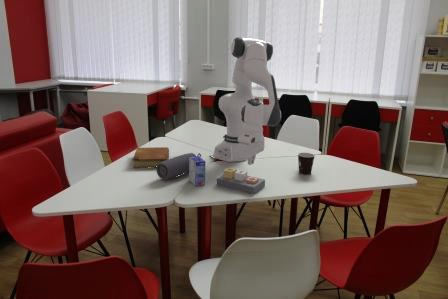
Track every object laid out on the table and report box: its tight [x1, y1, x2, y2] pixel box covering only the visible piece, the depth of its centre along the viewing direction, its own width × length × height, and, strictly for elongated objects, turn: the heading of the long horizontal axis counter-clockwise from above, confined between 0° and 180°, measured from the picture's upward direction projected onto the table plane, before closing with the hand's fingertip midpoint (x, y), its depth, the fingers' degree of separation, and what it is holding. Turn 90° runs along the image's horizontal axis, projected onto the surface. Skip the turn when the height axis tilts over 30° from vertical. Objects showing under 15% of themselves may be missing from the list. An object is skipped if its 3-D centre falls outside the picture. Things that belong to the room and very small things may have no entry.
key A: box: [223, 167, 237, 179], centre depth 186 cm, size 4×4×5 cm
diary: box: [132, 146, 170, 169], centre depth 217 cm, size 23×19×6 cm
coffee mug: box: [297, 152, 315, 176], centre depth 205 cm, size 12×9×10 cm
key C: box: [246, 176, 259, 184], centre depth 181 cm, size 4×4×5 cm
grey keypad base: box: [216, 174, 266, 195], centre depth 184 cm, size 20×12×4 cm, turn 59°
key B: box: [235, 169, 248, 182], centre depth 183 cm, size 4×4×5 cm
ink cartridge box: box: [188, 153, 206, 187], centre depth 185 cm, size 10×6×14 cm, turn 23°
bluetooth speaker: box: [155, 152, 197, 180], centre depth 195 cm, size 23×9×10 cm, turn 145°
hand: (250, 164), depth 178 cm, fingers closed
